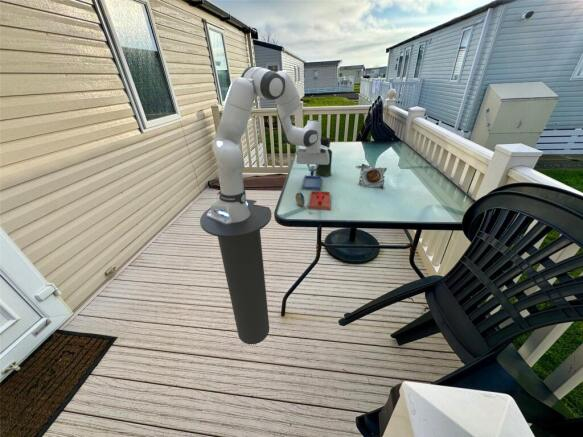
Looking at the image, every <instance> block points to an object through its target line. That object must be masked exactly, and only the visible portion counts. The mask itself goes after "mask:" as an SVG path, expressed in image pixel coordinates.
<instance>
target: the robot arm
mask: <svg viewBox="0 0 583 437" xmlns="http://www.w3.org/2000/svg"><path fill="white" fill-rule="evenodd" d="M227 90H228V91H227V93H226V97H225V100H224V104H223V109H222V114H221V118H220V121H219V124H218V126H217V130H216V132H215V136H214V139H213V141H212V147H211V150H212V152H213V154H214V156H215V159H216V164H217V165H216V166H217V174H218V182H219V187H220V190H219V191H218V192H217V193H216V194H217V196H219V197H216V199H215V200H214V201H213V202H212V203H211V205H210V208H211V210H210V211H209V212H208V213H207V217H209V218H211V219H214V220H216V221H219V222H221V223H223V224H226V225H227V224H231V223H235V222H241V221H244V220H246V219H247V218H248V217H249V216H250V211H249V209H248V206H247V205H248V204H247V202H246V199H247V195H246V193H247V192H246V189H245V187H244V186H245V185H244V176H243V158H244V157H243V152H242V149H241V147H240V146H239V144H240V142H241V140H242V137H243V135H244V134H245V132H246V131H247V127H248V124H249V120H250V117H251V113H252V110H253V109H252V108H253V104H254V101H255V100H256V99H257V97H258V98H261V99H264V100H268V101H274V100H275V103H276V106H277V107H276V114H277V118H278V120H279V121H278V122H279V123H280V127H281V129H282V132H283V133H282V134H283V138H284V141H285V143H286V144H287V145H290V146H299V147H298V148H297V149H296V150H295V155H296V160H295V161H296V162H295V163H296V164H297V165H306V167H307V169H308V172H311V165H315V168H314V172H316V168H317V167H318V164H321V165H328V164H329V153H328V149H329V148H328V147H326V146H323V145H321V141H320V140H321V138H322V123H321V121H320V120H316V119H308V120H307V121H306V125H305V126H304V127H298V126H295V125H293V123H292V119H291V116H292V115H294V114H295V113H296V112H297V111H298V110H299V109H300V106H301V97H300V94H299V92H298V90H297V87H296V85H295V83H294V81H293V79H292V78H291V76H290V74H289V73H288V72H287V71H285V70H278V71H274V70H271V69H268V68H266V67H261V66H254V65H253V66H248V67H247V68H245V69H244V71H243V72H242V74H241V75H240V76H239V77H235V78H233V80H232V81H231V82H230V86H229V88H228V89H227ZM301 147H302V148H301ZM303 147H304V148H303Z"/></svg>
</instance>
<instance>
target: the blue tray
mask: <svg viewBox="0 0 583 437" xmlns="http://www.w3.org/2000/svg"><path fill="white" fill-rule="evenodd" d="M321 184H322V176H318V175H314V176H311V175H304V176H303V181H302V185H301V186H302V187H301V189H302V190H308V191H321V186H322V185H321Z"/></svg>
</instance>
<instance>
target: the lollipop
mask: <svg viewBox="0 0 583 437" xmlns="http://www.w3.org/2000/svg"><path fill="white" fill-rule="evenodd" d="M305 201H306V200H305V197H304V194H303V193H302V192H300V191H299V192H296V193H295V202H296V204H297V206H305V207H306V209H307V210H308V212H309V213H310V214H311V213H312V212H311V211H310V210H309V207H307V206H306V204H305Z"/></svg>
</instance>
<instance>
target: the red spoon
mask: <svg viewBox="0 0 583 437" xmlns="http://www.w3.org/2000/svg"><path fill="white" fill-rule="evenodd" d="M317 198H318V205H319V206H321V204H322V199H323V198H324V194H322V193H318V194H317Z"/></svg>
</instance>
